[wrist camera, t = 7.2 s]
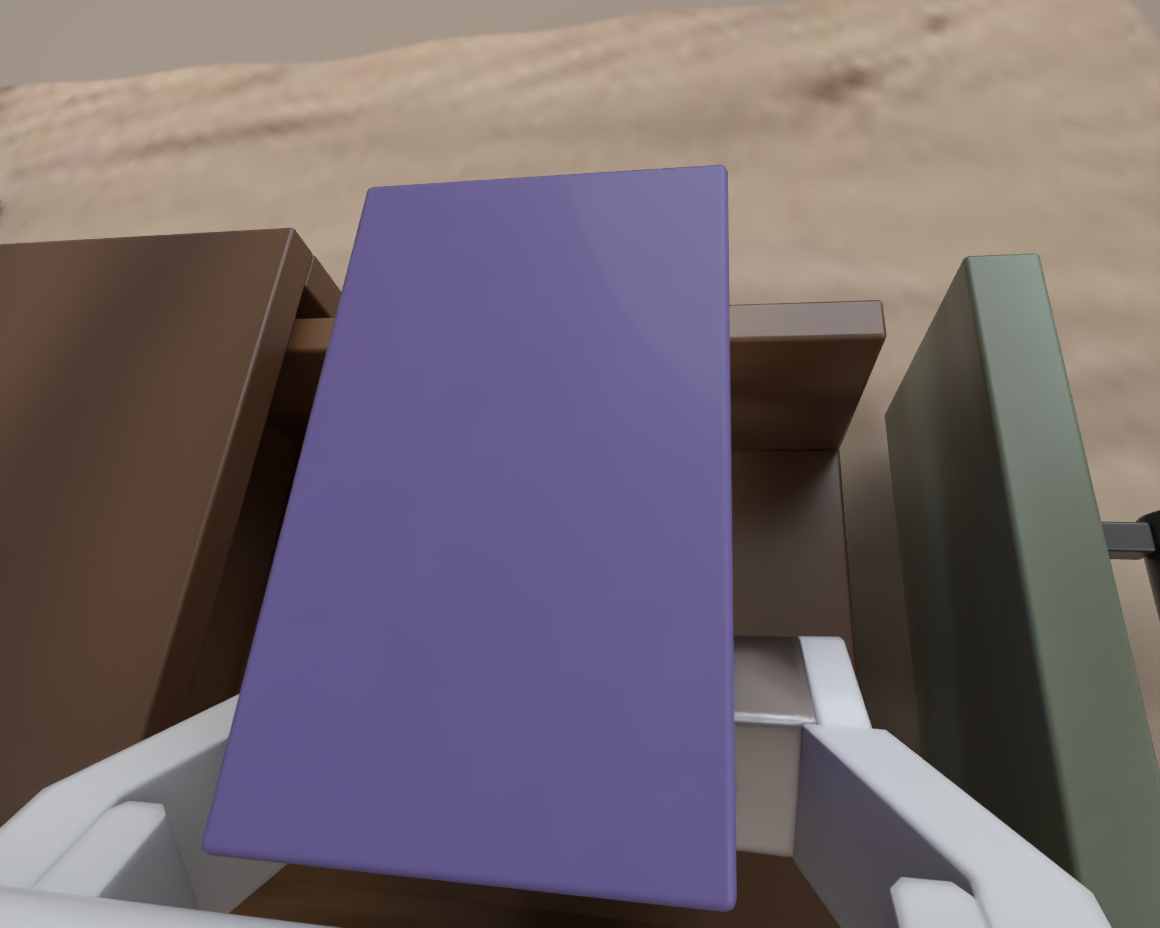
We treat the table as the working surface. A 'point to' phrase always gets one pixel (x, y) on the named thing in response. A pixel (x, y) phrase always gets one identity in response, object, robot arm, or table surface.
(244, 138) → the table surface
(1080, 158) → the table surface
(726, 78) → the table surface
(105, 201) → the table surface
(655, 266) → the snack bar carton
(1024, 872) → the robot arm
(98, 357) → the cabinet
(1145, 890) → the drawer
